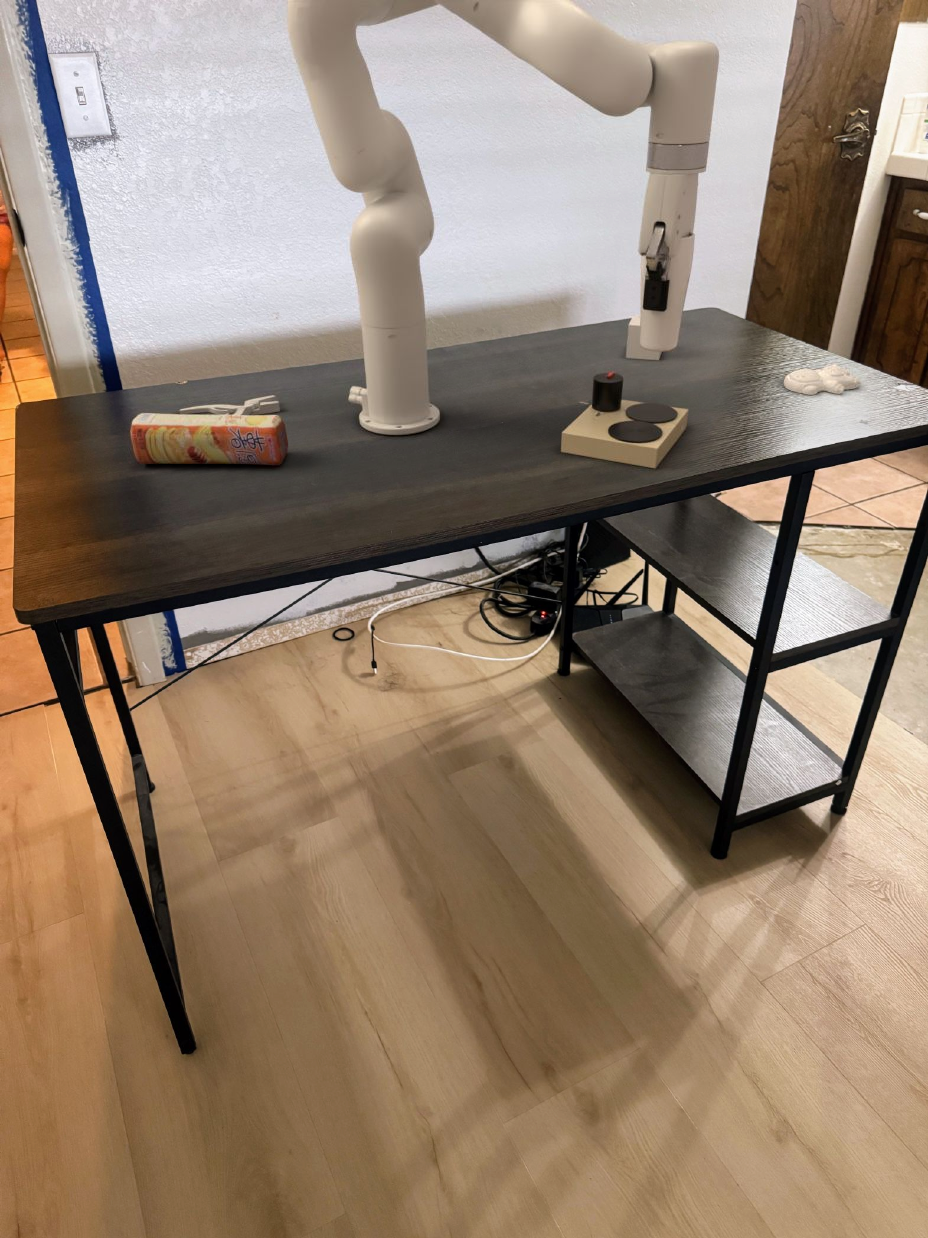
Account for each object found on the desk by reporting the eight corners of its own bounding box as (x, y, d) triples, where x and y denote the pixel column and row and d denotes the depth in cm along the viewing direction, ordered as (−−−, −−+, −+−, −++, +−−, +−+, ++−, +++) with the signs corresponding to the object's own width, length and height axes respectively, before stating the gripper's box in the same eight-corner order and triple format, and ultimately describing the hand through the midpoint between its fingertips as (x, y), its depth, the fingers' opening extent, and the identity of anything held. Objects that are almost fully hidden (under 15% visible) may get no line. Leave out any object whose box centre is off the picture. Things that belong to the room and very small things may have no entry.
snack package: (291, 451, 129) (285, 406, 125) (281, 470, 123) (274, 424, 119) (150, 450, 130) (139, 406, 126) (134, 469, 124) (122, 424, 121)
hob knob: (615, 413, 130) (617, 382, 127) (587, 409, 132) (589, 378, 129) (625, 404, 133) (627, 373, 130) (597, 399, 135) (599, 369, 132)
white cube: (630, 348, 166) (632, 315, 162) (662, 350, 164) (665, 317, 161) (625, 357, 161) (628, 324, 157) (658, 360, 159) (662, 326, 156)
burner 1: (618, 418, 128) (618, 416, 128) (634, 401, 134) (634, 399, 134) (669, 426, 125) (669, 424, 125) (683, 409, 131) (683, 407, 131)
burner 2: (600, 437, 123) (600, 435, 123) (618, 419, 128) (618, 417, 128) (653, 446, 120) (653, 444, 120) (668, 427, 125) (669, 425, 125)
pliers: (178, 403, 141) (269, 389, 146) (180, 413, 142) (270, 398, 147) (188, 424, 134) (284, 408, 139) (190, 434, 135) (285, 417, 140)
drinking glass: (679, 339, 127) (692, 228, 118) (684, 354, 121) (698, 238, 113) (632, 339, 127) (641, 228, 119) (635, 354, 122) (645, 238, 113)
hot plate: (549, 449, 127) (549, 429, 125) (588, 412, 139) (589, 392, 137) (655, 468, 121) (657, 447, 119) (686, 427, 133) (689, 407, 131)
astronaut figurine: (865, 394, 143) (869, 375, 141) (791, 395, 143) (795, 377, 141) (845, 376, 150) (849, 358, 148) (775, 377, 150) (778, 360, 149)
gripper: (667, 148, 119) (654, 286, 129) (626, 165, 106) (615, 316, 116) (722, 150, 116) (705, 291, 126) (688, 168, 103) (671, 322, 113)
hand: (662, 302), depth 121 cm, fingers closed on drinking glass, 6 cm apart
